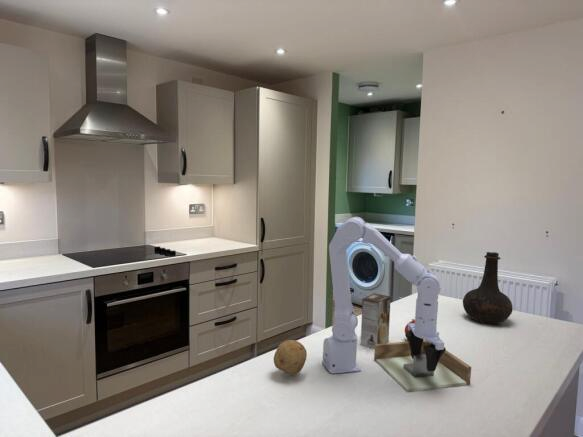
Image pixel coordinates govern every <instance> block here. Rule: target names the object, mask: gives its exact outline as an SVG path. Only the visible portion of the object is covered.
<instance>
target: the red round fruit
mask: <svg viewBox="0 0 583 437" xmlns="http://www.w3.org/2000/svg"><path fill="white" fill-rule="evenodd" d="M408 323H415V318H412V319H411V321H409V322H408ZM408 323H407V324H406V325H405V327H404V333H409V332H410V331H409V330H408Z"/></svg>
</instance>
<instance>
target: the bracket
mask: <svg viewBox="0 0 583 437" xmlns="http://www.w3.org/2000/svg"><path fill="white" fill-rule="evenodd" d="M403 368H404V369H405V370H406V371H407V372H408V373H410V374H411V375H412V376H413V377H414V378H419V377H428V376H434V371H427V363H426V354H422V355H414V357H413V363H410V364H404V366H403Z"/></svg>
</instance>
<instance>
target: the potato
mask: <svg viewBox="0 0 583 437" xmlns="http://www.w3.org/2000/svg"><path fill="white" fill-rule="evenodd" d="M307 355H308V353H307V349H306V348H305V346H304V345H303V344H302V342H300V341H298V340H295V339H287V340H284V341H283V342H281V343H280V344H279V345H277V348H276V350H275V353H274V356H273V364H274V366H275V368H277V369H278V370H279V371H282V372H284V373H285V374H286V375H287V376H290V377H294V376H296V375H297V374H299V373H300V372H301V371H302V370H303V368H304V366H305V362H306V361H307Z"/></svg>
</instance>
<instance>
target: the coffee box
mask: <svg viewBox="0 0 583 437" xmlns="http://www.w3.org/2000/svg"><path fill="white" fill-rule="evenodd" d="M391 297H392V296H390V295H386V294H381V293H380V294H379V293H374V292H373V293H372V294H369V295H367V296H366V297H363V298H361V299H362V301H361V303H362V304H361V324H360V325H361V327H360V345H361V346H363V345H364V347H368V348H370V347H371V349H373V348H374V350H375V344H384V343H389V340H390V337H389V336H390V318H391V315H390V314H391Z"/></svg>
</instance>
